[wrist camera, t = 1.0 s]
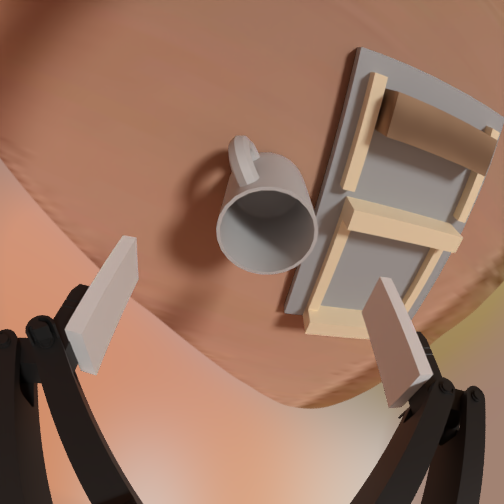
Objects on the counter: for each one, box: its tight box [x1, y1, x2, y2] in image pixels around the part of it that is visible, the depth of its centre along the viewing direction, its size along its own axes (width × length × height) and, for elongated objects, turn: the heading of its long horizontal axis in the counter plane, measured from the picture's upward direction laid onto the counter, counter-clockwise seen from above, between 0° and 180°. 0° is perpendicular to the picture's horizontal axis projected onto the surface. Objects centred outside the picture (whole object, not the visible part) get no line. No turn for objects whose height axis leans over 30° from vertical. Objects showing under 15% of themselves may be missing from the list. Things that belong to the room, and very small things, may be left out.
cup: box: [216, 136, 318, 274], centre depth 25 cm, size 7×10×9 cm
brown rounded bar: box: [375, 88, 498, 176], centre depth 22 cm, size 4×12×3 cm, turn 80°
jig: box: [284, 47, 504, 339], centre depth 28 cm, size 30×18×4 cm, turn 170°
